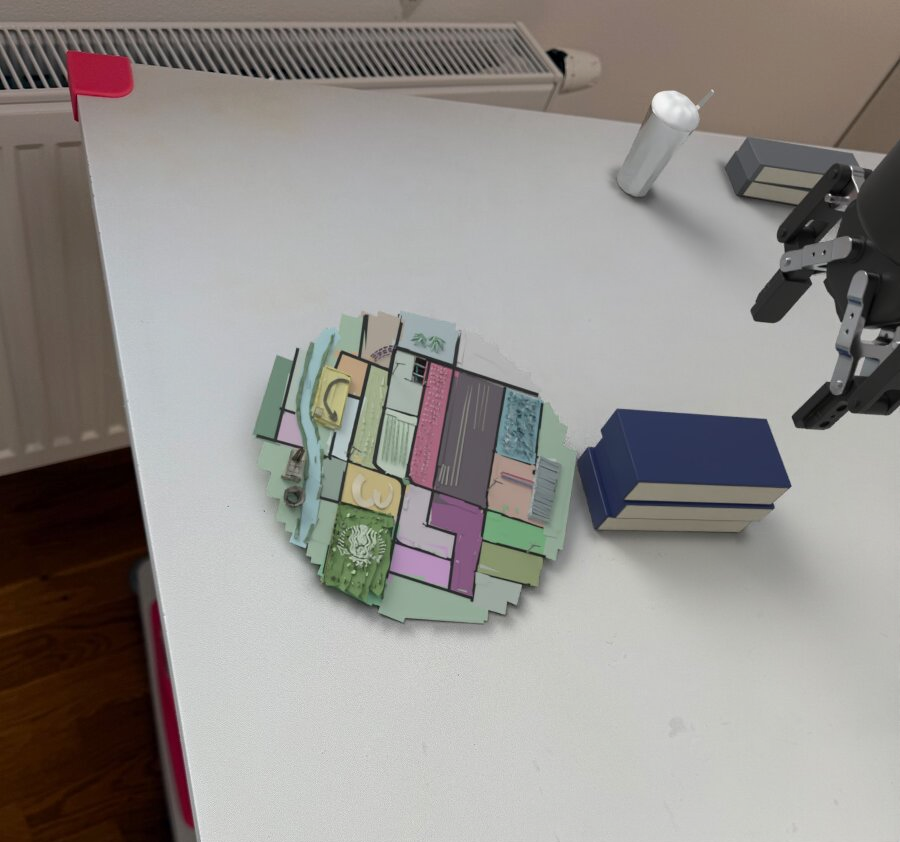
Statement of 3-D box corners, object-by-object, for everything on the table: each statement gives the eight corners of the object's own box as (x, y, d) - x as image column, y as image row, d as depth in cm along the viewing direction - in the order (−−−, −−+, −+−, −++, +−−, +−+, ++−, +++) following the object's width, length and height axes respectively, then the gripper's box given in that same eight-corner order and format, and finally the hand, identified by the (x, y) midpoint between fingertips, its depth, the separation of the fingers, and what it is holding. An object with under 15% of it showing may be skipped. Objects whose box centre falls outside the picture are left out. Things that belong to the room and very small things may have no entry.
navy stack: (722, 468, 78) (751, 439, 75) (745, 535, 76) (775, 508, 72) (575, 461, 73) (599, 430, 70) (595, 533, 71) (620, 504, 68)
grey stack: (832, 184, 103) (857, 153, 100) (846, 216, 102) (872, 185, 98) (722, 164, 98) (745, 131, 95) (735, 197, 96) (759, 164, 93)
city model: (257, 656, 60) (278, 626, 55) (204, 329, 66) (218, 274, 61) (597, 620, 70) (642, 591, 65) (523, 340, 77) (559, 293, 71)
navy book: (746, 438, 75) (767, 418, 73) (771, 506, 72) (792, 487, 70) (599, 429, 70) (616, 408, 68) (620, 501, 68) (638, 481, 65)
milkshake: (667, 200, 92) (726, 109, 84) (624, 204, 90) (680, 111, 82) (645, 166, 94) (700, 73, 85) (602, 168, 91) (655, 73, 83)
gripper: (1091, 278, 47) (866, 464, 61) (976, 80, 53) (794, 290, 67) (977, 262, 45) (768, 460, 58) (869, 54, 50) (702, 279, 64)
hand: (782, 369), depth 62 cm, fingers open, 8 cm apart
